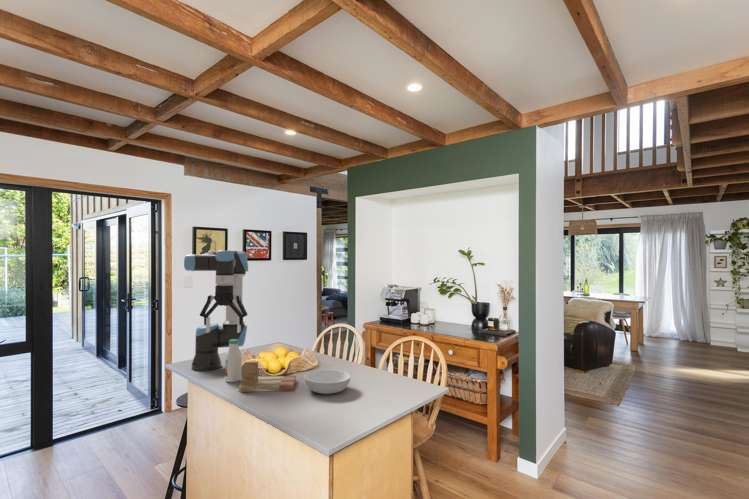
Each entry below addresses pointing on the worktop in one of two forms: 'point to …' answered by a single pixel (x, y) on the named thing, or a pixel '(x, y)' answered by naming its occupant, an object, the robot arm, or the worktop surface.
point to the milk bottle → (233, 362)
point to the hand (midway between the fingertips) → (223, 332)
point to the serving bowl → (327, 381)
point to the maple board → (274, 383)
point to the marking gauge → (249, 376)
